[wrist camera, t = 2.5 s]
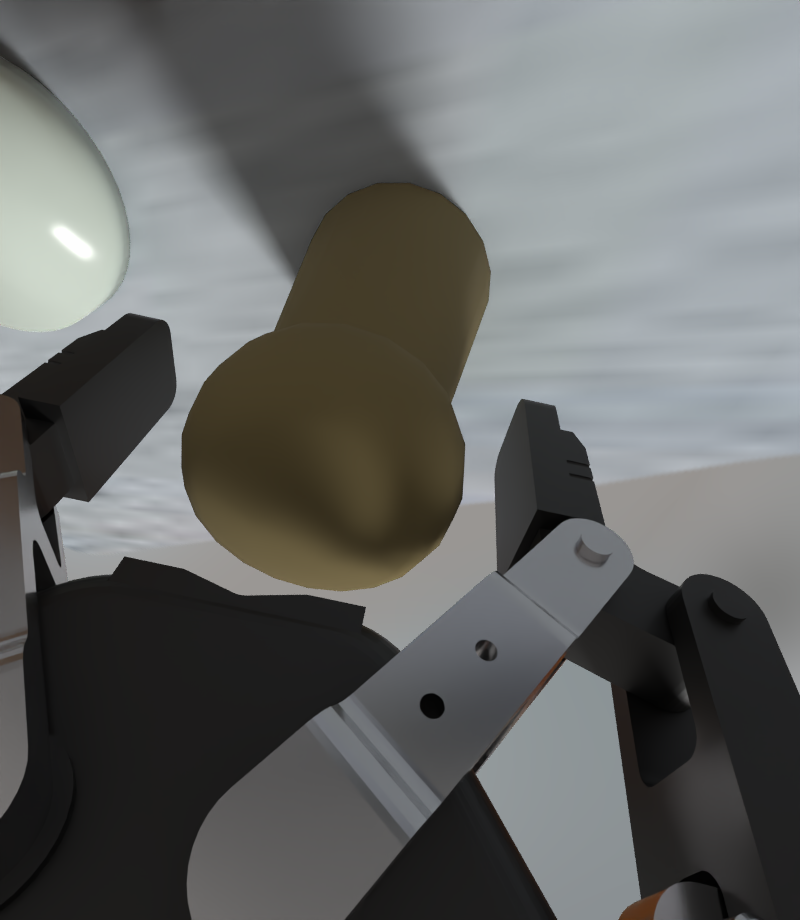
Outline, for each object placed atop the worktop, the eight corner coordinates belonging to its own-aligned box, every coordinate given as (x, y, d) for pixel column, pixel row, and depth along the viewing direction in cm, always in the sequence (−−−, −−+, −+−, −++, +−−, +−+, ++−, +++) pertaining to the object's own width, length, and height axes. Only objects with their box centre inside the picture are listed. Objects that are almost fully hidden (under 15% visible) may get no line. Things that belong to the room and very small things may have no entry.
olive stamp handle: (284, 319, 18) (105, 562, 10) (345, 140, 15) (140, 284, 6) (435, 393, 19) (391, 670, 11) (529, 243, 16) (571, 489, 7)
